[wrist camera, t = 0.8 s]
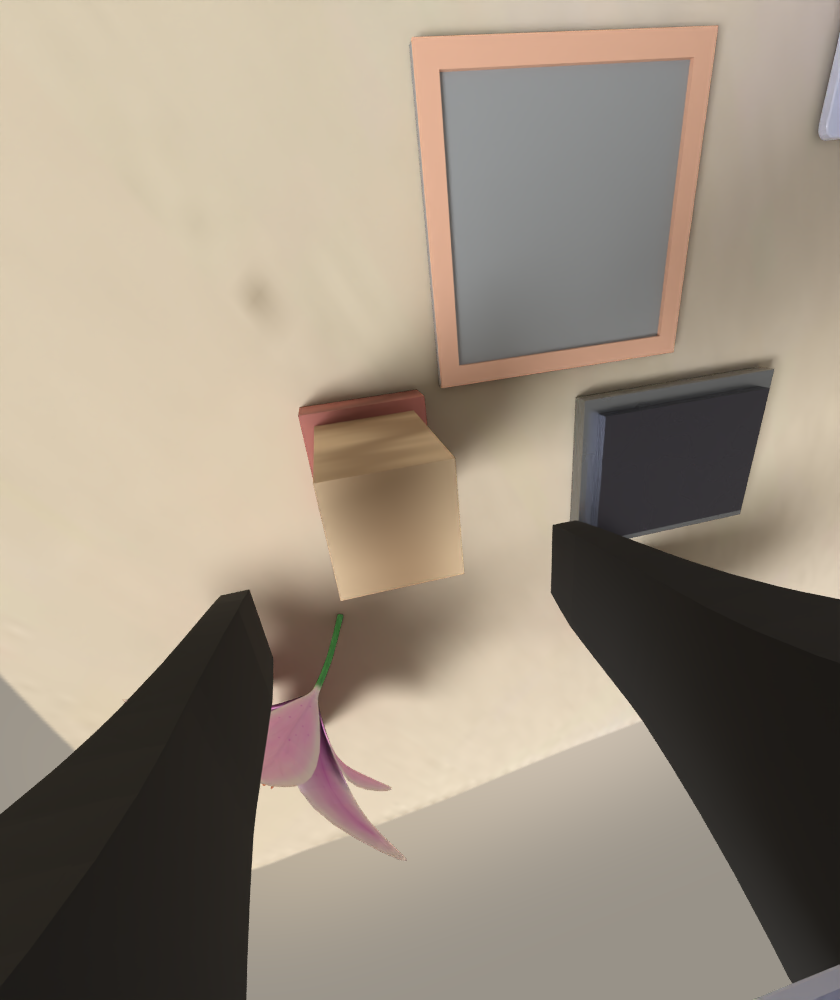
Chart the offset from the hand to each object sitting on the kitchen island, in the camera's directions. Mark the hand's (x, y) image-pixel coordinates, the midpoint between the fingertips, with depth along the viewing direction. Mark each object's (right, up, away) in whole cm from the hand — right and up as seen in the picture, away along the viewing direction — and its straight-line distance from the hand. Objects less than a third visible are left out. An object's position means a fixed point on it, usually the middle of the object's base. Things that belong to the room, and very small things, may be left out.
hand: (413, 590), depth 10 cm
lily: (-7, -7, +14) cm, 17 cm away
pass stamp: (-2, +4, +9) cm, 11 cm away
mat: (+6, +13, +7) cm, 16 cm away
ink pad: (+13, +4, +13) cm, 19 cm away
